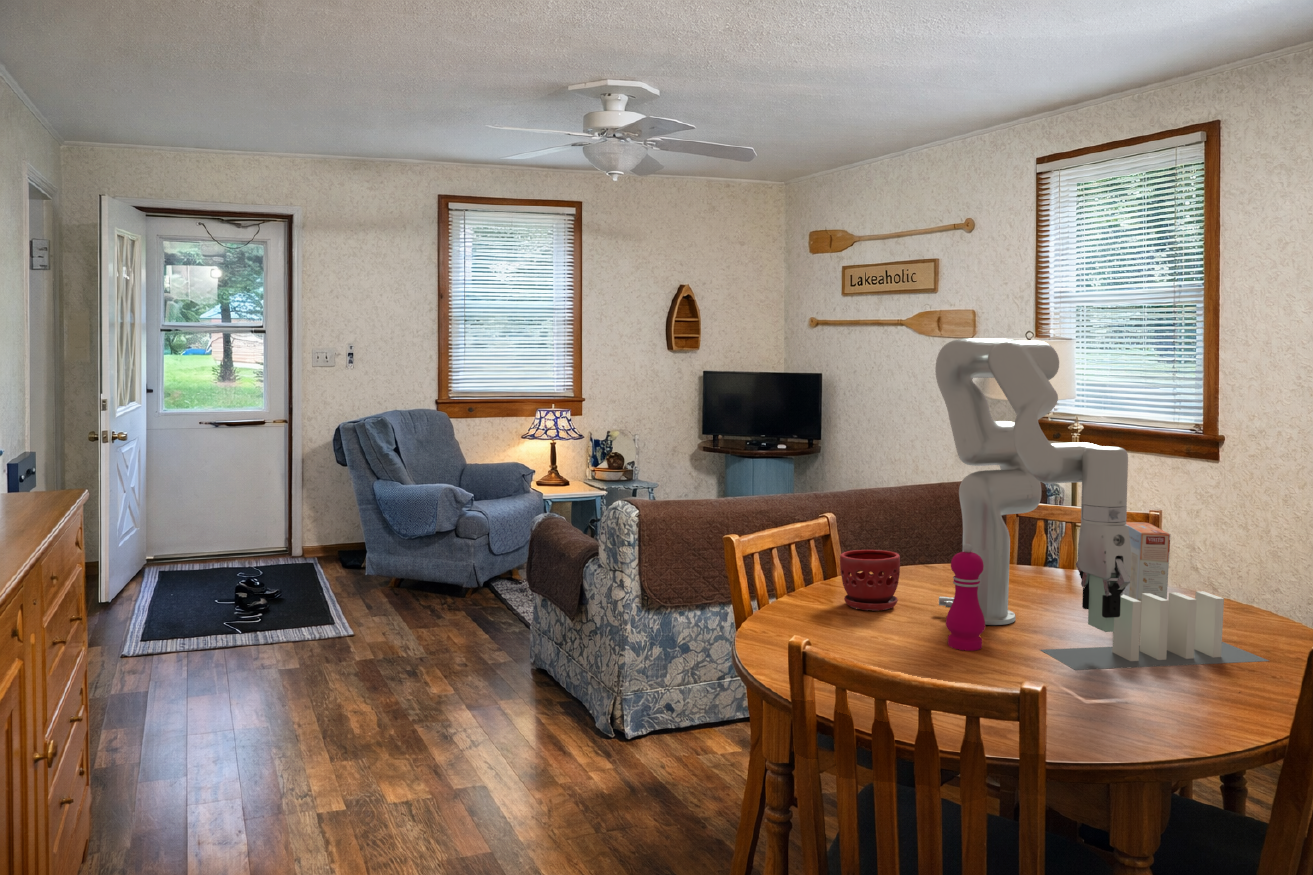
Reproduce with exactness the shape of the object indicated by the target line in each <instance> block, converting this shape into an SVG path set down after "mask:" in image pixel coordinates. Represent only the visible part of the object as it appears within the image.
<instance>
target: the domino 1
mask: <svg viewBox="0 0 1313 875" xmlns="http://www.w3.org/2000/svg"><path fill="white" fill-rule="evenodd" d="M1140 615H1141V601H1139V600H1136V599H1134V598H1131V597H1129V596H1126V595H1122V596H1121V603H1120V617H1114V632H1112V647H1113V648H1112V652H1113V653H1115V654H1117V655H1119V656H1121V657H1123V658H1125V659H1127V660H1129V661H1139V645H1140Z"/></svg>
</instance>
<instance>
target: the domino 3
mask: <svg viewBox="0 0 1313 875" xmlns="http://www.w3.org/2000/svg"><path fill="white" fill-rule="evenodd" d="M1168 600H1169V612H1168V633H1167V650H1168V651H1170V652H1172V653H1174V654H1177V655H1179V656H1181V657H1183V658H1185V659H1190V658H1194V645H1195V624H1196V603H1197V599H1195V597H1194V598H1193V597H1191V596H1189V595H1185V594H1183V593H1181V592H1176V591H1174V592H1168Z"/></svg>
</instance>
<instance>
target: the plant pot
mask: <svg viewBox="0 0 1313 875" xmlns="http://www.w3.org/2000/svg"><path fill="white" fill-rule="evenodd" d="M839 567H840V568H839V570H840V575H841V582H842V585H843V589H844V591H845V592H846V595H845V596H844V602H845V604H847V606H849V607H850V608H853V609H856V608H857V609H862V611H868V610H872V611H873V612H874V611H875V612H877V611H878V612H880V611H879V610H881V611H886V610H887V611H888V610H890V608H891V609H892V608H894V607H895V606H896V605H897V604H898V600H899V599H898V597H897V596H895V593H896V591H897V589H898V585H899V581H900V580H899V579H900V572H901V570H900V569H901V555H900V554H899V553H898V552H895V551H890V550H881V549H855V550H848V551H843V552H842V553H841V554H840V555H839ZM858 571H862V572H858ZM857 609H856V610H857ZM872 611H871V612H872Z"/></svg>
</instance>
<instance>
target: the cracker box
mask: <svg viewBox="0 0 1313 875" xmlns="http://www.w3.org/2000/svg"><path fill="white" fill-rule="evenodd" d="M1126 525H1128V530H1129V536H1130V546H1131V576H1130V583H1129V584H1128V585H1127V586H1126V587H1125V589H1124V591H1123V595H1126V596H1129V597H1131V598H1134V599H1136V600H1139V601H1141V603H1142V593H1151V594H1153V595H1156V596H1159V597H1161V598H1164V599H1166V600H1168V584H1169V566H1170V565H1169V563H1170V551H1171V549H1170V548H1171V534H1170V533H1168V532H1167V531H1165V530H1163V529H1161V528H1159V527H1158V526H1155V524H1152V523H1149V522H1144V521H1143V522H1142V521H1141V522H1138V521H1137V522H1136V521H1133V522H1132V521H1126ZM1140 626H1141V615H1140Z"/></svg>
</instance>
